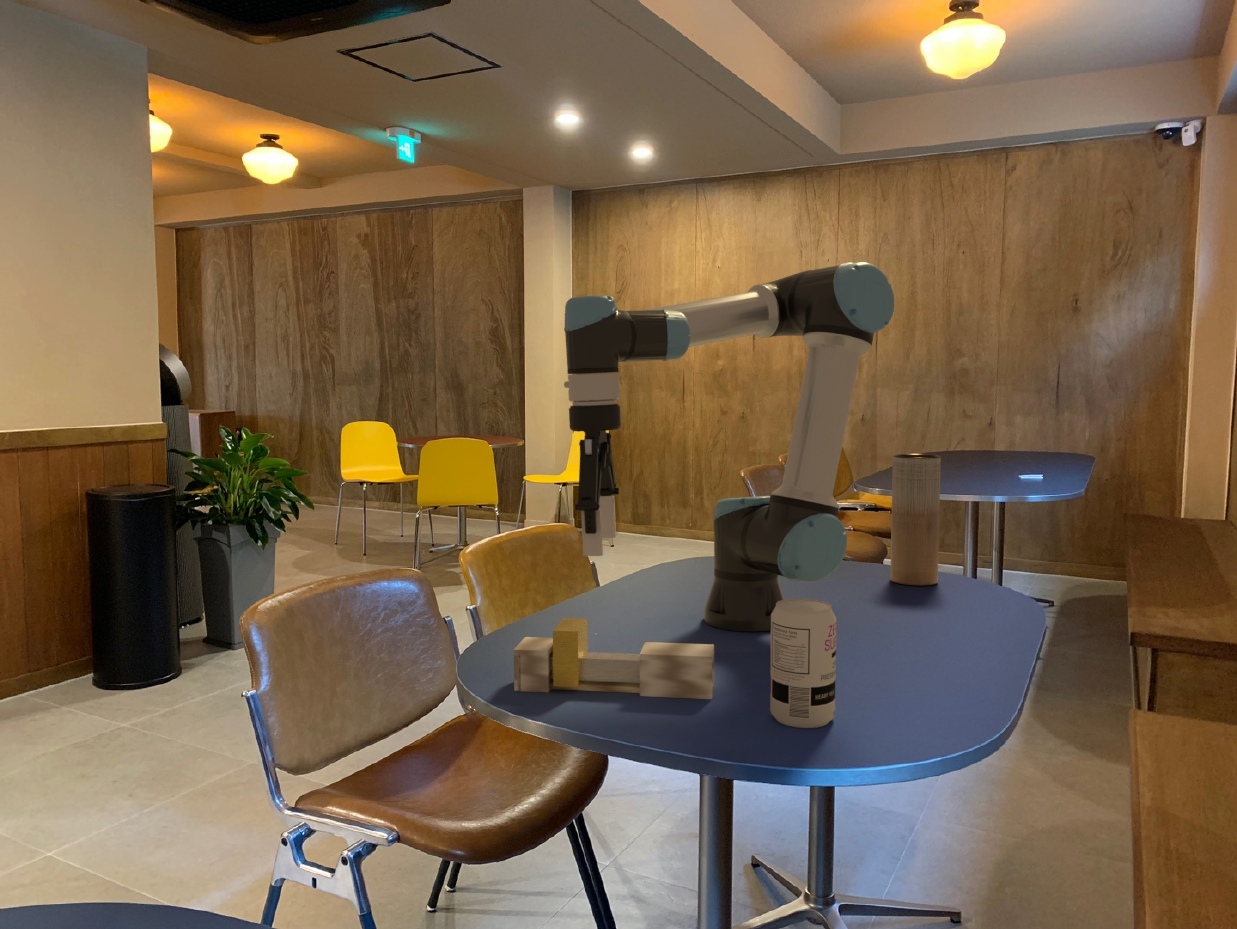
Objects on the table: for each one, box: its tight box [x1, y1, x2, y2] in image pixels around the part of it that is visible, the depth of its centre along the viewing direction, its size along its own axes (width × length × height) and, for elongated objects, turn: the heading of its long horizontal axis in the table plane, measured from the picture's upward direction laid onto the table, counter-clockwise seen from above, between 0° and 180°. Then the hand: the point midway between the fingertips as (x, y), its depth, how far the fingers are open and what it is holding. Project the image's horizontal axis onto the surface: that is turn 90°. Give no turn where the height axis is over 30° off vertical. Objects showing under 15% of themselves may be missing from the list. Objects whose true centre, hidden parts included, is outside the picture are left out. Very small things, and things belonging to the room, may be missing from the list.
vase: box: [889, 453, 942, 587], centre depth 198 cm, size 10×10×28 cm
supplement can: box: [769, 598, 837, 729], centre depth 117 cm, size 8×8×15 cm
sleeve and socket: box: [513, 636, 715, 700], centre depth 130 cm, size 28×7×6 cm, turn 81°
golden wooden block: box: [550, 617, 640, 687], centre depth 130 cm, size 20×7×8 cm, turn 81°
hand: (600, 546), depth 135 cm, fingers open, 13 cm apart
